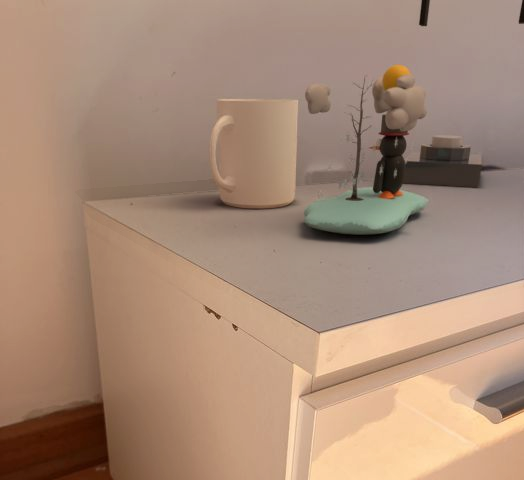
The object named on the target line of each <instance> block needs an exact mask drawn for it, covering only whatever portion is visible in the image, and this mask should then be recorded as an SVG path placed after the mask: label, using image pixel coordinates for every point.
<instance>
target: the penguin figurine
mask: <svg viewBox="0 0 524 480" xmlns="http://www.w3.org/2000/svg"><path fill="white" fill-rule="evenodd" d="M367 77H368V75H365V77H364V78H363V87H361V86H360V84H358V83H357V84H356V83H354V82H350V83H353V85H356V86H357V87H358V88H359V89H362V91H361V94H360V96H361V97H360V107H358V108H356V107H355V106H352V105H348V107H352V108H355V109H356V110H357V111H359V112H360V113H359V122H358V121H357V120H355V118H354V116H353V114H352V113H350V114H349V113H347V114H348V115H350V116H351V120H352V127H353V129H354V133H355V135H356V142H355V141H354V139H353V138H351V134H350V133H349V131H348V132H347V134H346V135H345V136H346V139H345V141H346V143H347V144H349V142H350V141H351V143H352V144H356V159H355V170H354V174H353V172H352V171H347V172H348V173H350V174H351V175H352V177H353V178H352V183H351V185H352V188H351V189H349V190H346V191H344V192H343V193H341V194H340V195H338V196H337V195H336V196H330V197H326V198H325V197H324V198H321V199H320V197H322V191H323V190H321V189H320V190H318V194H317V195H318V196H317V197H318V198H319V199H318V200H315V201H313V202H311V203H310V204H309V205H307V207H306V208H305V209H304V212H303V214H304V217H305V218H304V219H303V221H304V224H305V225H307V226H308V227H309V228H312V229H316V230H319V231H324V232H328V233H329V232H330V233H334V234H335V233H336V234H343V235H355V236H356V235H357V236H358V235H359V236H362V235H363V236H365V235H366V236H367V235H368V236H369V235H378V234H385V233H389V232H393V231H396V230H398V229H400V228H401V227H403V226H404V225H405V224H406V223H407V221H408V218H409V217H410V216H411V215H414V214H417V213H420V212H421V211H423V210H425V209H426V207H427V206H428V204H429V199H427V197H424V196H422V195H420V194H417V193H414V192H411V191H407V190H403V189H401V188H402V187H403V184H404V183H403V181H404V172H405V165H406V163H407V160H406V158H404V156H403V155H404V153H405V151H406V149H407V139H406V138H405V136H408V135H410V132H408V131H411V130H413V129H414V128H415V127H416V126H417V123H418V120H423V119H424V118H425V117H426V116H427V113H428V112H427V108H426V106H425V99H426V96H427V95H426V90H425V89H424V87H422V86H419V85H415V83H416V77H415V76H414V75H412V74H411V72H410V70H409V68H407V67H406V66H405V65H402V64H395V65H394V64H393V65H392V66H389V67H388V69H386V70H385V72H384V74H383V76H380V77H378V78H377V79H376V80H374V83H373V82H371V84H370V85H369V86H367V88H366V90H365V92H364V89H365V84H366V83H365V82H366V78H367ZM373 79H375V77H374V78H373ZM372 83H373V84H372ZM371 86H372V90H371V93H372V97H373V108H374V111H375V113H376V114H381V124H380V132H378V135H380V136H383V137H382V138H378V139H376V141H375V142H374V143H373V144H374V145H372V146H370V147H369V149H371V152H372V154H373V155H374V153H375V152H376V151H379V152H380V154H381V155H382V157H380V160H378V161H377V163H376V168H375V173H374V180H373V185H372V186H369V187H367V186H366V187H365V186H364V187H358V180H360V184H361V185H362V183H364V180H363V179H361V178H364V175H365V173H364V170H362V172H360V165H361V164H362V163H363V161H361V158H365V155H366V153H365V152H364V151H363V153H362V156H361V151H362V134H363V133H364V132H365V131H368V129H370V128H371V126H369V127H367V128H365V129H363V130H362V125H363V124H362V123H363V120H364V119H365V117H363V116H364V115H363V114H364V109H363V102H366V101H367V99H363V96H364V95H365V93H366V92H367V91H368V89H370V87H371ZM330 95H331V87H330V86H329V85H327V84H320V83H313V84H311V85H309V86H308V87H307V88H306V90H305V93H304V98H305V101H306V102H307V109H308V112H309V114H311V115H316V114H319V113H324V114H325V113H328V112H330V110H331V100H330V98H329V96H330ZM343 113H344V114H346V112H344V111H343ZM384 113H385V114H384ZM371 117H373V114H372V115H371V116H370V115H369V116H366V119H367V118H370V119H371ZM355 122H356V124H355ZM356 125H358V130H357V129H356ZM338 139H339V140H338V142H339V144H342V143H343V136H341V135H340V136H338ZM410 145H411V146H410V150H411V151H412V150H413V148H414V141H413V140H412V141H411V143H410ZM365 149H366V148H365V147H364V150H365ZM352 156H353V155H352V154H351V155H350V157H349V164H350V166H351V165H352V163H353V161H354V157H352ZM404 160H405V161H404ZM360 161H361V162H360ZM327 166H328V167H327V168H328V171H330V170H332V163H329V165H327ZM343 182H344V184H343ZM343 182H342V181H341V179H340V180H339V182H338V186H337V187H338V190H340V189H341V187H342V184H343V187H346V186H347V184H348V183H347V182H348V179H344V180H343Z"/></svg>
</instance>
